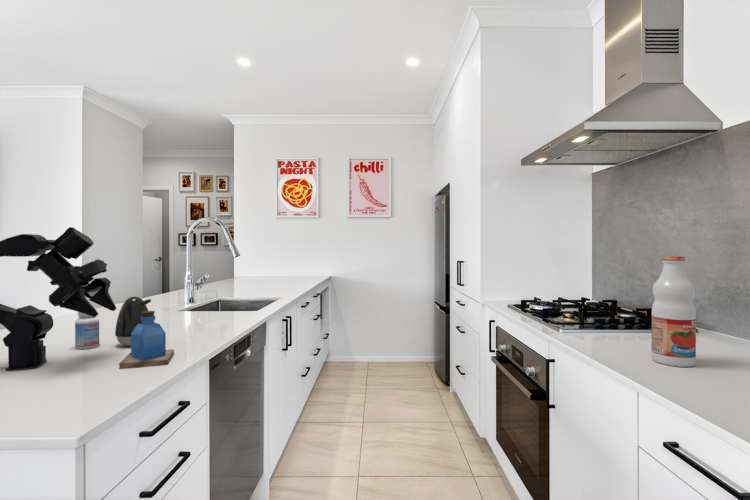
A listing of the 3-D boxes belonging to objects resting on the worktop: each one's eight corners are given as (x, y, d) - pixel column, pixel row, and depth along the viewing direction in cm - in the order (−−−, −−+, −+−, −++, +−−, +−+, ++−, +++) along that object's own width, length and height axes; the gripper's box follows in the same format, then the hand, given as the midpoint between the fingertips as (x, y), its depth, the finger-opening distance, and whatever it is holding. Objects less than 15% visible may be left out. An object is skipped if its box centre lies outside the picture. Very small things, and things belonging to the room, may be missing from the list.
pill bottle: (86, 350, 121) (86, 312, 120) (70, 349, 122) (69, 312, 122) (104, 345, 126) (104, 309, 126) (88, 344, 128) (87, 309, 128)
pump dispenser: (141, 348, 122) (141, 298, 122) (107, 348, 122) (107, 298, 122) (159, 340, 132) (159, 294, 132) (128, 340, 132) (128, 294, 132)
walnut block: (119, 373, 102) (119, 363, 102) (130, 361, 112) (130, 352, 112) (167, 369, 106) (167, 359, 106) (174, 357, 116) (174, 349, 116)
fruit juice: (664, 355, 113) (665, 255, 112) (703, 364, 104) (704, 256, 104) (643, 359, 109) (644, 256, 108) (682, 369, 100) (683, 257, 100)
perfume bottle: (141, 360, 104) (140, 314, 104) (131, 356, 108) (130, 312, 108) (165, 355, 109) (165, 311, 109) (155, 352, 113) (155, 309, 113)
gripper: (62, 250, 98) (111, 295, 99) (103, 249, 116) (144, 287, 118) (26, 283, 97) (76, 327, 98) (73, 277, 115) (115, 314, 117)
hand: (106, 312), depth 108 cm, fingers open, 9 cm apart
